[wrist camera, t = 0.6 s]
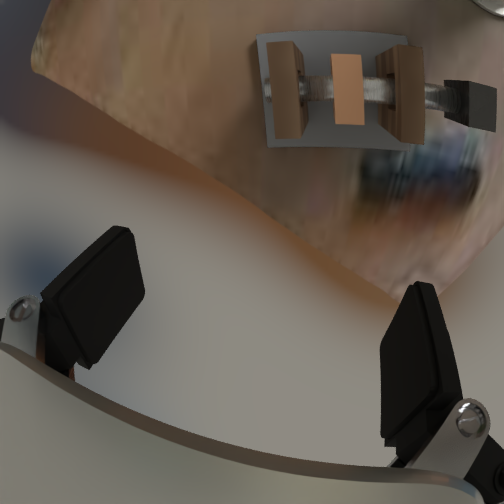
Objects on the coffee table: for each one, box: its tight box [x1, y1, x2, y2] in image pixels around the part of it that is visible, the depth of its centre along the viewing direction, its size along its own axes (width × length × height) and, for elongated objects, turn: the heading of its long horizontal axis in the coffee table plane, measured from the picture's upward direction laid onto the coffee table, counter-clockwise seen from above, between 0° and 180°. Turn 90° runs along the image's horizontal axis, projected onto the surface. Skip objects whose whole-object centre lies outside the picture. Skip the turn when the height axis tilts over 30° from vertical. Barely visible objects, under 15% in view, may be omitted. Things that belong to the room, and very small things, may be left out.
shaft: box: [264, 75, 497, 132], centre depth 21 cm, size 20×4×6 cm, turn 96°
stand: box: [266, 41, 425, 145], centre depth 23 cm, size 12×8×11 cm, turn 96°
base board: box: [256, 30, 410, 151], centre depth 29 cm, size 17×14×2 cm
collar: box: [330, 54, 364, 125], centre depth 22 cm, size 2×6×6 cm, turn 6°
